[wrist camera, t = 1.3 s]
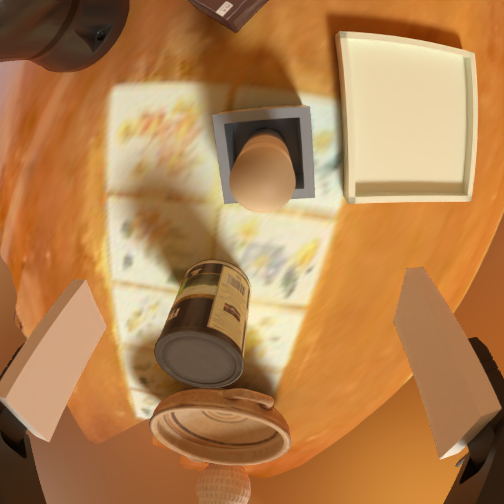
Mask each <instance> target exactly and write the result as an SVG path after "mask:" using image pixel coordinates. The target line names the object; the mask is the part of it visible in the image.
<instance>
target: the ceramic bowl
mask: <svg viewBox="0 0 504 504" xmlns="http://www.w3.org/2000/svg"><path fill="white" fill-rule="evenodd" d="M273 404H274V399H273V398H272V397H271V396H269V395H266V394H263V393H259V392H255V391H252V390H248V389H242V388H235V389H225V388H202V387H201V388H191V389H186V390H182V391H179V392H176V393H174V394H172V395H170V396H168V397H167V398H165V399H164V400H162V401H161V402H160V403H159V405H158V406H157V407H156V409H155V410H154V412H153V416H152V417H151V418H150V422H149V427H150V430H151V431H152V433H153V435H154V436H155V437H156V438H157V439H158V440H159V441H160V442H161V443H162V444H164V445H165V446H167V447H168V448H170V449H172V450H174V451H176V452H178V453H180V454H182V455H185V456H186V457H187V458H189V459H191V460H193V461H196V462H209V463H215V464H222V465H254V464H260V463H265V462H269V461H272V460H275V459H277V458H279V457H281V456H282V455H284V454H285V453H286V452H287V451H288V450H289V449H290V446H291V438H290V431H289V427H288V424H287V422H286V421H285V419H284V417H283V416H282V415H281V414H280V413H279V412H278V411H277V410H276V409H275V408H274V407H273Z"/></svg>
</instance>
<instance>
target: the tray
mask: <svg viewBox="0 0 504 504" xmlns="http://www.w3.org/2000/svg"><path fill="white" fill-rule="evenodd" d="M335 43H336V51H337V61H338V71H339V82H340V95H341V110H342V129H343V158H344V198H345V199H346V201H347V202H348V204H355V203H384V202H471V198H472V191H473V183H474V174H475V164H476V151H477V130H478V95H477V74H476V62H475V53H473V52H469V51H466V50H462V49H458V48H454V47H450V46H446V45H442V44H437V43H432V42H427V41H422V40H417V39H411V38H405V37H398V36H390V35H382V34H373V33H361V32H345V31H339V32H338V33H337V34H336V35H335Z"/></svg>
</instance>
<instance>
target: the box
mask: <svg viewBox="0 0 504 504" xmlns="http://www.w3.org/2000/svg"><path fill="white" fill-rule="evenodd" d="M189 1H190V2H191V3H192V4H193V6H194V7H195V8H196V9H198V10H199V11H201V12H203V13H204V14H206V15H208V16H209V17H211V18H213V19H214V20H216V21H218V22H219V23H221V24H222V25H224V26H226V27H227V28H229V29H230V30H232V31H233V32H235V33H237V32H238V31H239V30H240V29H241V27H242V26H243V25H244V24H245V23H246V22H247V21H248V20H249V19H250V18H251V17H252V16H253V15H254V14H255V13H256V12H257V11H258V10H259V9H260V8H261V7H262V6H263V5H264V4H265V3H267V2H268V1H269V0H189Z"/></svg>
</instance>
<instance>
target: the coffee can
mask: <svg viewBox="0 0 504 504" xmlns="http://www.w3.org/2000/svg"><path fill="white" fill-rule="evenodd" d="M250 297H251V286H250V283H249V280H248V278H247V277H246V276H245V274H244V273H243V272H242V271H241V270H240V269H238V268H237V267H235V266H234V265H232V264H229V263H227V262H224V261H219V260H207V261H202V262H199V263H197V264H195V265H193V266H192V267H191V268H190V269H189V270H188V271H187V272H186V274H185V276H184V278H183V282H182V285H181V287H180V289H179V292H178V294H177V297H176V299H175V301H174V304H173V306H172V308H171V311H170V313H169V316H168V318H167V320H166V323H165V326H164V328H163V330H162V333H161V335H160V337H159V339H158V340H157V343H156V345H155V350H154V351H155V357H156V360H157V362H158V364H159V365H160V366H161V368H162V369H163V370H164V371H165V372H166V373H168V374H169V375H170V376H172V377H173V378H175V379H176V380H178V381H181V382H183V383H185V384H188V385H192V386H196V387H202V388H218V387H223V386H227V385H229V384H231V383H233V382H235V381H236V380H237V379H238V378H239V377H240V376H241V375H242V373H243V370H244V349H245V340H246V331H247V322H248V312H249V303H250Z"/></svg>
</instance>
